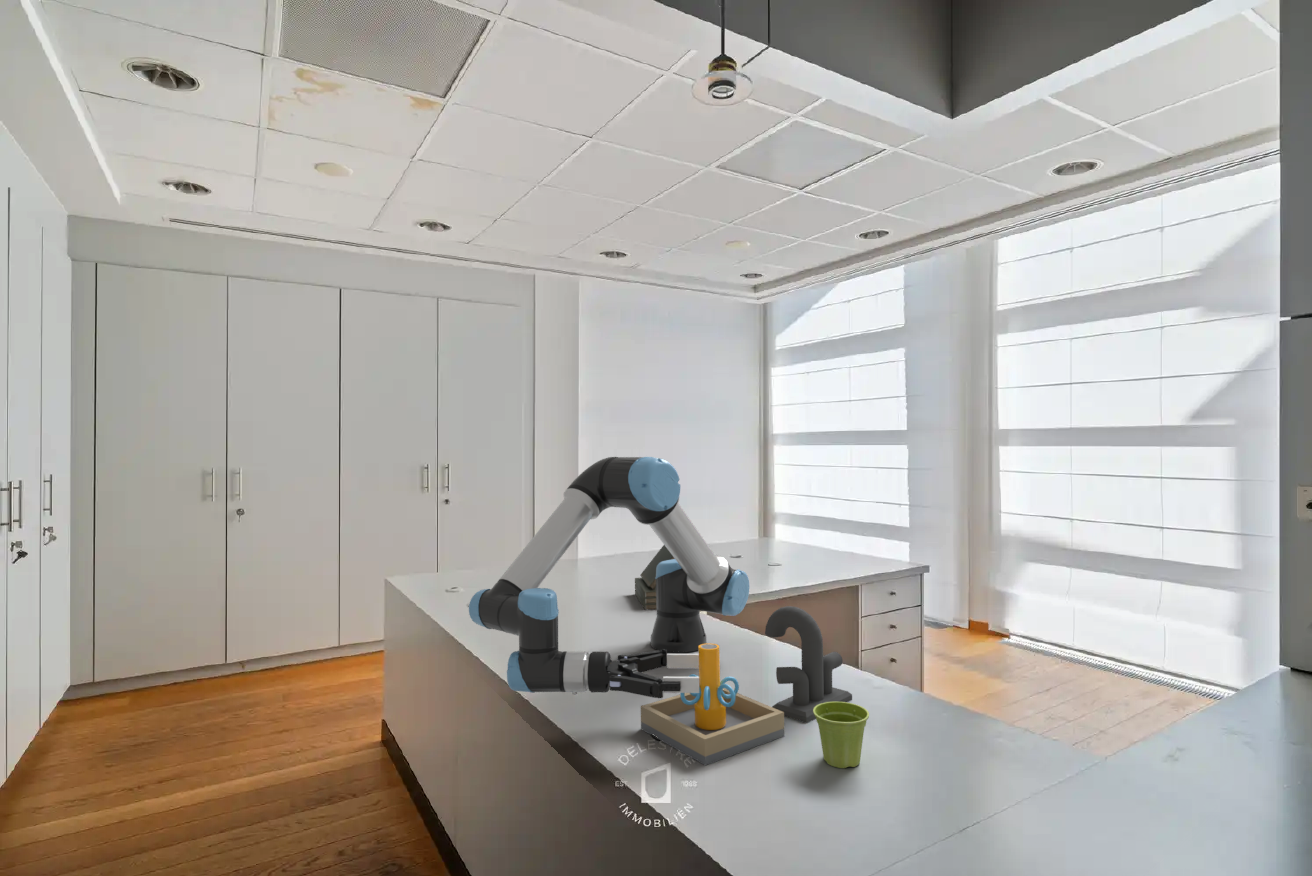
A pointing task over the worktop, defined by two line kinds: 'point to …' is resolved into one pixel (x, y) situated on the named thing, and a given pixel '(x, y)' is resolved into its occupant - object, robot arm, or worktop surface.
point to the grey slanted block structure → (650, 580)
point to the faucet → (805, 666)
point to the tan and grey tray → (741, 732)
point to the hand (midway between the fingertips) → (699, 672)
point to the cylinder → (711, 690)
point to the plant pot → (841, 732)
